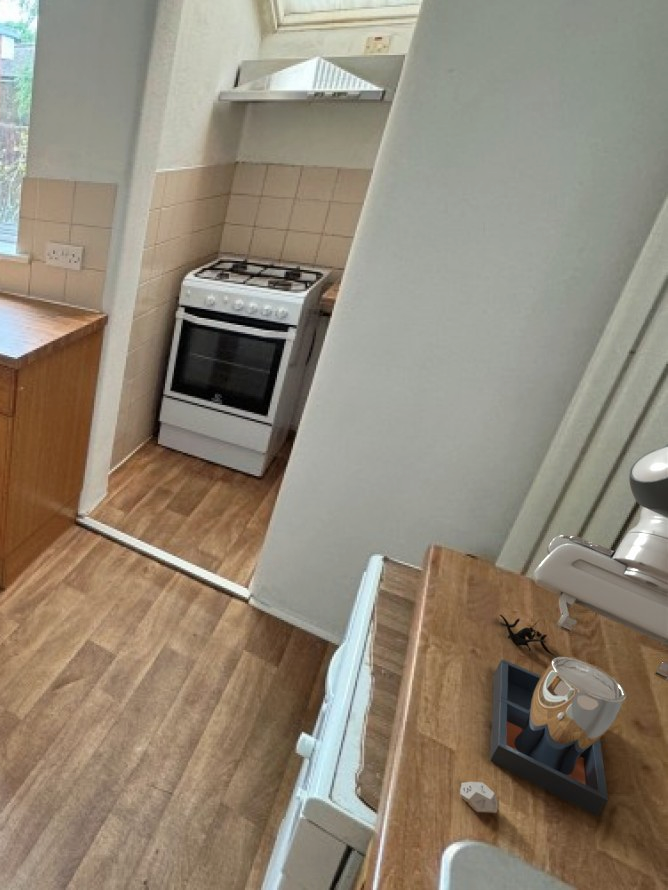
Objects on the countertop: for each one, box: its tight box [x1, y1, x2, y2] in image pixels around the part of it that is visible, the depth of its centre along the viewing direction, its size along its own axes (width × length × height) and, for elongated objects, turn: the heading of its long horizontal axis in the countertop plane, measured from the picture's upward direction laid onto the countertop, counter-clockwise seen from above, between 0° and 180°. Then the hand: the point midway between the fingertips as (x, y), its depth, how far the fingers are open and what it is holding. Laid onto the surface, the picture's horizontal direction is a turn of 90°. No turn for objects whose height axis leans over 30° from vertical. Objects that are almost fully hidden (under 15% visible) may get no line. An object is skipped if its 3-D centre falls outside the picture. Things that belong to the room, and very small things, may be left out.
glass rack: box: [489, 658, 609, 817], centre depth 84 cm, size 19×10×4 cm, turn 136°
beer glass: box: [511, 656, 627, 778], centre depth 78 cm, size 7×7×15 cm
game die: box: [459, 781, 499, 814], centre depth 76 cm, size 4×4×3 cm
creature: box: [499, 614, 557, 658], centre depth 100 cm, size 8×5×8 cm
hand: (610, 652), depth 82 cm, fingers open, 8 cm apart
